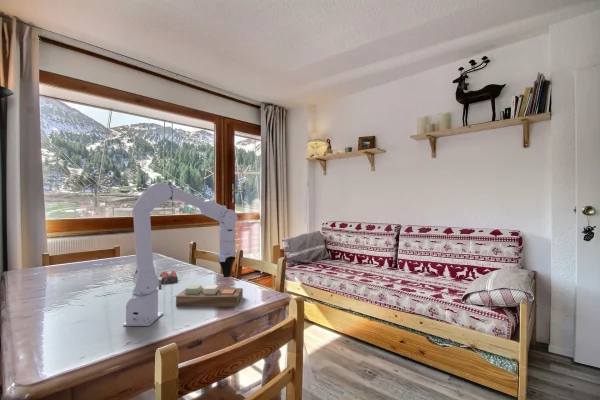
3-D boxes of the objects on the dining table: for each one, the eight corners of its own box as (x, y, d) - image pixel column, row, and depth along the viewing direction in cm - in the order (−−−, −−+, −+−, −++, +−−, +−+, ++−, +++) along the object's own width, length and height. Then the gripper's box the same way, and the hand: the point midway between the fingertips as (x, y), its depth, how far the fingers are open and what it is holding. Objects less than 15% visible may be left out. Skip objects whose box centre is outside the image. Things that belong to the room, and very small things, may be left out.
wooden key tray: (236, 306, 103) (236, 296, 103) (176, 306, 103) (176, 296, 103) (242, 297, 113) (242, 288, 113) (187, 296, 113) (187, 287, 113)
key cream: (214, 294, 105) (214, 288, 105) (203, 294, 105) (203, 288, 105) (218, 290, 110) (218, 285, 110) (207, 290, 110) (207, 285, 110)
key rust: (232, 299, 105) (232, 293, 105) (220, 299, 105) (220, 293, 105) (235, 295, 110) (235, 289, 110) (223, 295, 110) (223, 289, 110)
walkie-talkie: (155, 278, 139) (157, 290, 121) (155, 269, 139) (157, 279, 121) (175, 276, 143) (179, 287, 126) (175, 267, 143) (179, 277, 126)
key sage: (197, 294, 105) (197, 288, 105) (185, 294, 106) (185, 288, 106) (201, 290, 110) (201, 284, 110) (190, 290, 110) (190, 284, 110)
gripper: (233, 244, 100) (232, 282, 100) (241, 238, 115) (241, 271, 115) (213, 243, 100) (212, 282, 100) (224, 238, 115) (224, 271, 115)
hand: (227, 276), depth 108 cm, fingers closed
